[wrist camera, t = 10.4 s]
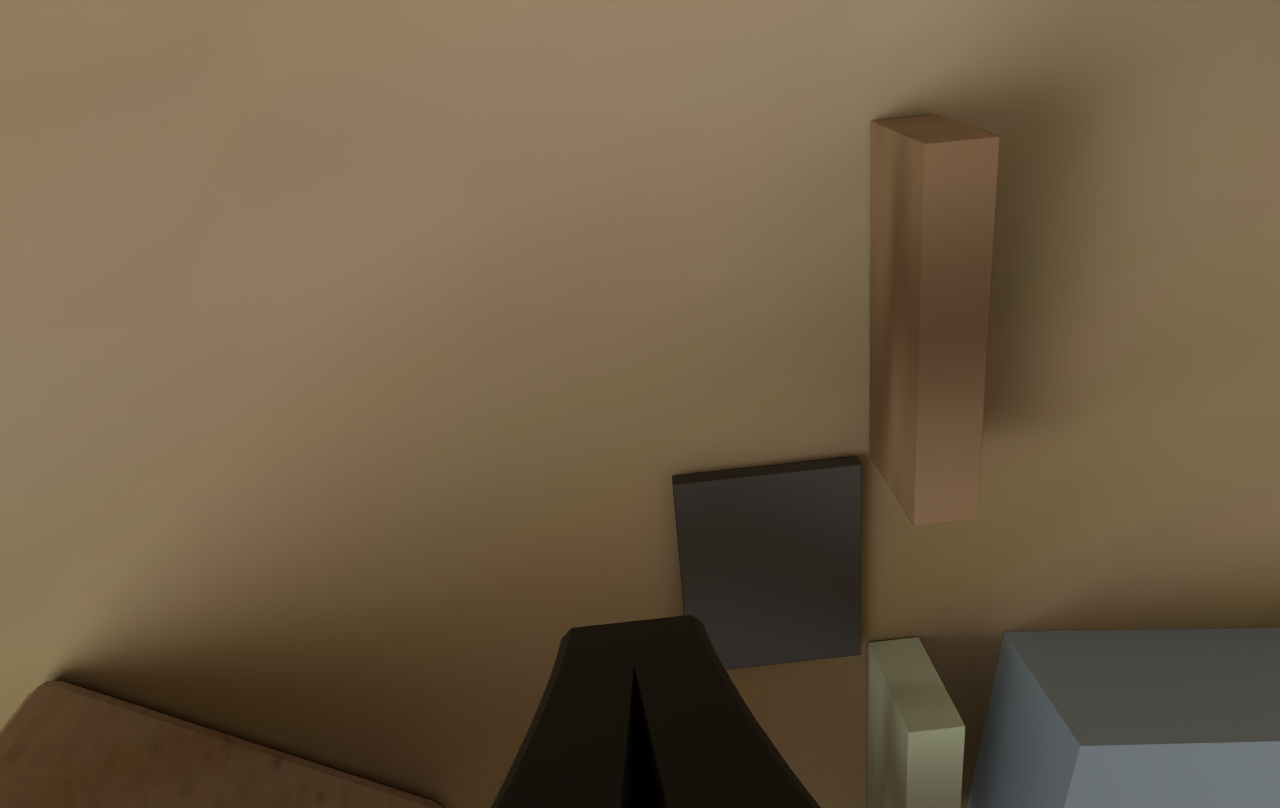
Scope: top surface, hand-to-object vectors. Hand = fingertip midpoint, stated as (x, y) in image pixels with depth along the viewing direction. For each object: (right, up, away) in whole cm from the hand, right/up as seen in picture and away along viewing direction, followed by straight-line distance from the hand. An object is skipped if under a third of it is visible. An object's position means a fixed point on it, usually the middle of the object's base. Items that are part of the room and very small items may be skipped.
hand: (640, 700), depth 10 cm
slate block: (+13, -6, +15) cm, 20 cm away
